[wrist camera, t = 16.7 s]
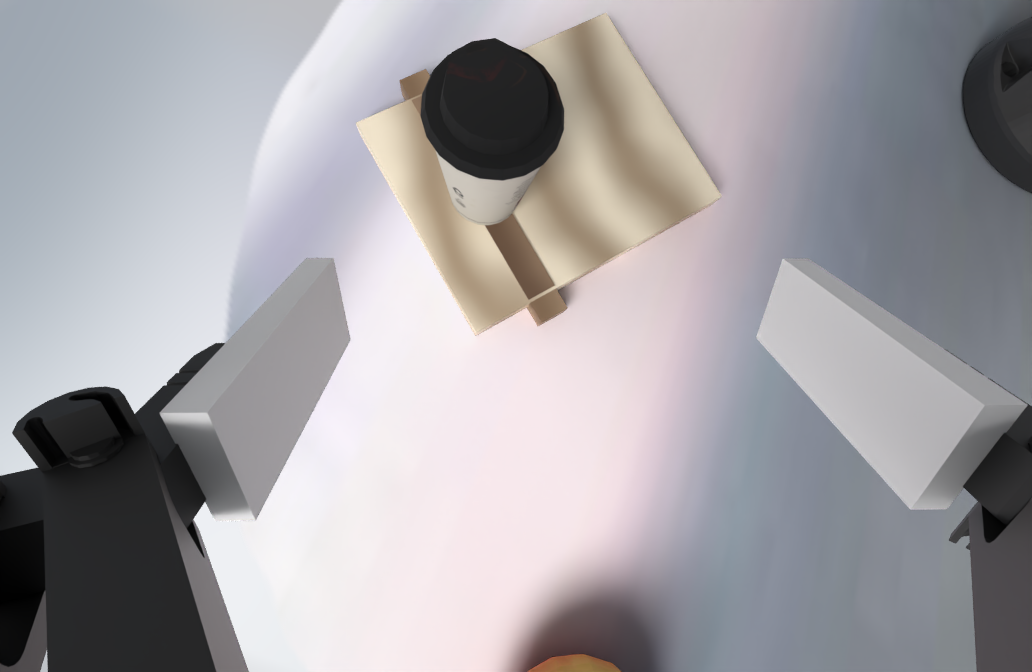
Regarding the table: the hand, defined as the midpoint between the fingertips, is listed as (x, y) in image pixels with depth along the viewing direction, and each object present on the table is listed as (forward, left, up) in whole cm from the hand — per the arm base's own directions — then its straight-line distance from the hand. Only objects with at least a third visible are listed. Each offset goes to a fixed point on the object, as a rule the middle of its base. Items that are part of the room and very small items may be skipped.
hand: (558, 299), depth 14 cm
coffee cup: (-4, -10, -16) cm, 19 cm away
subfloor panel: (-9, -10, -17) cm, 22 cm away
